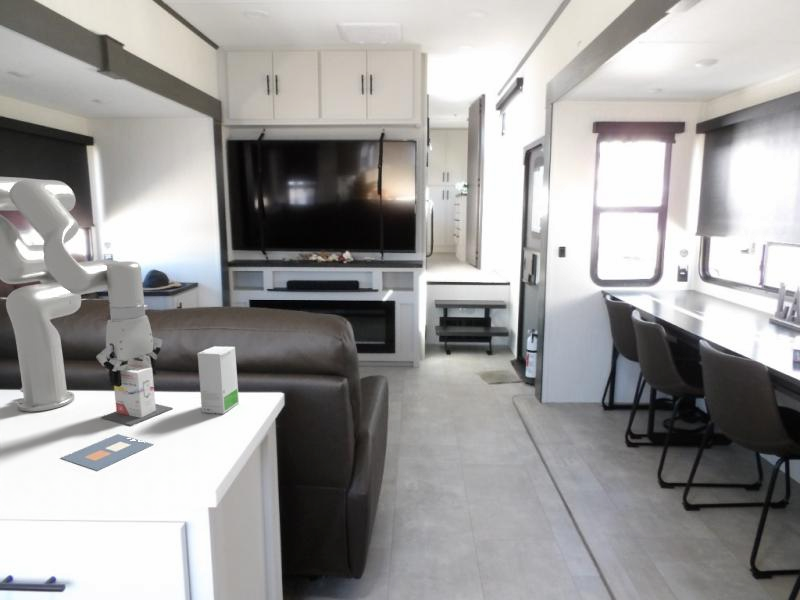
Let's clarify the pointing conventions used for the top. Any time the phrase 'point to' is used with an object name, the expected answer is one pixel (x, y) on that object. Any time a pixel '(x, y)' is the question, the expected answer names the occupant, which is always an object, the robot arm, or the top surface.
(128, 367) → the ink cartridge box
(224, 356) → the skincare box
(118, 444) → the tile
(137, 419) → the rubber mat
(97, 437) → the top surface
